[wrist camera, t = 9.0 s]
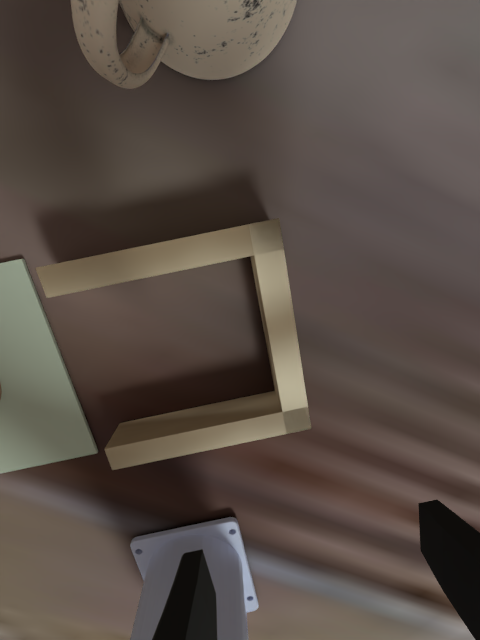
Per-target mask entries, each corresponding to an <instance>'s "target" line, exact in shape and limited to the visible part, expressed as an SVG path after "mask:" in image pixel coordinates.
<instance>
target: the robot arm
mask: <svg viewBox="0 0 480 640" xmlns="http://www.w3.org/2000/svg"><path fill="white" fill-rule="evenodd" d="M419 522H420V545H421V552H422V554H423V555H424V557H425V559H426V561H427V563H428V565H429V566H430V568H431V570H432V572H433V574H434V575H435V577H436V579H437V581H438V583H439V584H440V586H441V588H442V590H443V591H444V593H445V594H446V596H447V597H448V599H449V601H450V602H451V604H452V605H453V607H454V608H455V610H456V611H457V613H458V614H459V616H460V617H461V619H462V620H463V622H464V623H465V625H466V626H467V628H468V629H469V631H470V632H471V634H472V635H473V637H474V638H475V640H480V533H479V532H478V531H477V530H475V529H474V528H473V527H472V526H470V525H469V524H468V523H466V522H465V521H464V520H463V519H461V518H460V517H459V516H458V515H456V514H455V513H454V512H452V511H451V510H450V509H449V508H447V507H446V506H445V505H444V504H442V503H441V502H440V501H438V500H433V501H428V502H424V503H419ZM231 529H233V530H231ZM130 548H131V550H132V553H133V555H134V558H135V560H136V563H137V565H138V568H139V570H140V573H141V576H142V578H143V581H144V584H143V588H142V592H141V596H140V600H139V605H138V609H137V613H136V617H135V621H134V625H133V630H132V634H131V638H130V640H248V626H247V612H251V611H255V610H256V609H257V608H258V599H257V595H256V591H255V587H254V583H253V579H252V575H251V572H250V568H249V564H248V560H247V556H246V552H245V548H244V544H243V540H242V536H241V532H240V529H239V525H238V521H237V519H236V518H234V517H228V518H223V519H218V520H213V521H209V522H204V523H199V524H194V525H190V526H185V527H180V528H175V529H171V530H166V531H161V532H156V533H152V534H147V535H142V536H138V537H135V538H133V539H132V541H131V544H130Z"/></svg>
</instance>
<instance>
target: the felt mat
mask: <svg viewBox="0 0 480 640" xmlns="http://www.w3.org/2000/svg"><path fill="white" fill-rule="evenodd" d="M0 384H1V390H2V394H1V400H0V474H1V473H5V472H10V471H15V470H20V469H25V468H29V467H34V466H39V465H44V464H49V463H53V462H58V461H63V460H68V459H72V458H77V457H82V456H87V455H92V454H96V453H98V449H97V446H96V444H95V441H94V438H93V436H92V433H91V431H90V428H89V425H88V423H87V420H86V418H85V415H84V412H83V410H82V407H81V405H80V402H79V400H78V397H77V394H76V392H75V389H74V387H73V384H72V381H71V379H70V376H69V374H68V371H67V369H66V366H65V363H64V361H63V358H62V356H61V353H60V350H59V348H58V345H57V343H56V340H55V338H54V335H53V332H52V330H51V327H50V325H49V322H48V319H47V317H46V314H45V312H44V309H43V307H42V304H41V301H40V299H39V296H38V294H37V291H36V288H35V286H34V283H33V281H32V278H31V276H30V273H29V270H28V268H27V265H26V263H25V260H24V259H19V260H14V261H9V262H4V263H0Z"/></svg>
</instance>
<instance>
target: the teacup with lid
mask: <svg viewBox="0 0 480 640" xmlns="http://www.w3.org/2000/svg"><path fill="white" fill-rule="evenodd" d="M118 3H119V4H120V6H121V8H122V10H123V13H124V15H125V17H126V19H127V21H128V22H129V24H130V26H131V28H132V29H133V31H134V34H133V36H132V38H131V40H130V42H129V44H128V45H127V47H126V48H125V49H124V51H123V52H121V53H120V54H119V52H118V47H117V39H116V23H117V11H118ZM296 3H297V0H71V10H72V19H73V25H74V30H75V34H76V37H77V40H78V43H79V46H80V48H81V50H82V52H83V54H84V56H85V58H86V59H87V61H88V62H89V64H90V65H91V66H92V68H93V69H94V70H95V71H96V72H97V73H98V74H100V75H101V76H102V77H103V78H105V79H106V80H108V81H110V82H111V83H113V84H115V85H117V86H119V87H121V88H124V89H135V88H138V87H140V86H142V85H143V84H145V83H146V82H147V81H148V80H149V79H150V78H151V76H152V75H153V74H154V72H155V71H156V69H157V67H158V65H159V63H160V61H161V62H163V63H164V64H166V65H167V66H169V67H170V68H172V69H174V70H175V71H178V72H180V73H182V74H184V75H187V76H190V77H194V78H198V79H205V80H220V79H227V78H231V77H234V76H237V75H240V74H242V73H244V72H246V71H248V70H250V69H251V68H253V67H254V66H256V65H257V64H259V63H260V62H261V61H262V60H263V59H265V58H266V57H267V56H268V55H269V53H270V52H271V51H272V50H273V49H274V48H275V46H276V45H277V44H278V42H279V41H280V39H281V38H282V36H283V34H284V32H285V31H286V29H287V27H288V25H289V22H290V20H291V18H292V15H293V12H294V9H295V6H296Z"/></svg>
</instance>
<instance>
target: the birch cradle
mask: <svg viewBox="0 0 480 640" xmlns="http://www.w3.org/2000/svg"><path fill="white" fill-rule="evenodd" d="M249 256H250V258H251V264H252V269H253V275H254V280H255V286H256V291H257V296H258V302H259V307H260V313H261V318H262V324H263V329H264V334H265V340H266V345H267V351H268V356H269V362H270V367H271V372H272V378H273V383H274V389H275V391H271V392H267V393H262V394H257V395H252V396H247V397H243V398H238V399H233V400H228V401H223V402H219V403H214V404H209V405H204V406H199V407H195V408H190V409H185V410H180V411H175V412H171V413H166V414H161V415H156V416H151V417H147V418H142V419H137V420H132V421H127V422H123V423H119V425H118V427H117V428H116V430H115V432H114V434H113V435H112V437H111V439H110V440H109V442H108V444H107V445H106V447H105V449H104V450H105V453H106V455H107V458H108V460H109V463H110V466H111V468H112V470H116V469H121V468H126V467H131V466H135V465H140V464H145V463H150V462H154V461H159V460H164V459H169V458H174V457H178V456H183V455H188V454H193V453H197V452H202V451H207V450H212V449H217V448H221V447H226V446H231V445H236V444H240V443H245V442H250V441H255V440H260V439H264V438H269V437H274V436H279V435H283V434H288V433H293V432H298V431H303V430H307V429H311V424H310V417H309V411H308V404H307V398H306V391H305V384H304V378H303V371H302V365H301V358H300V352H299V345H298V339H297V332H296V326H295V319H294V313H293V306H292V300H291V293H290V287H289V280H288V274H287V267H286V260H285V254H284V247H283V241H282V234H281V228H280V221H279V218H277V219H272V220H267V221H262V222H257V223H252V224H247V225H243V226H238V227H233V228H228V229H223V230H218V231H213V232H208V233H203V234H199V235H194V236H189V237H184V238H179V239H174V240H169V241H164V242H159V243H155V244H150V245H145V246H140V247H135V248H130V249H125V250H120V251H115V252H111V253H106V254H101V255H96V256H91V257H86V258H81V259H76V260H71V261H67V262H62V263H57V264H52V265H47V266H42V267H37V268H36V271H37V274H38V276H39V279H40V281H41V284H42V287H43V289H44V292H45V295H46V297H47V298H49V297H54V296H59V295H64V294H69V293H74V292H78V291H83V290H88V289H93V288H98V287H103V286H108V285H113V284H117V283H122V282H127V281H132V280H137V279H142V278H147V277H152V276H156V275H161V274H166V273H171V272H176V271H181V270H186V269H191V268H195V267H200V266H205V265H210V264H215V263H220V262H225V261H230V260H234V259H239V258H244V257H249Z"/></svg>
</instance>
